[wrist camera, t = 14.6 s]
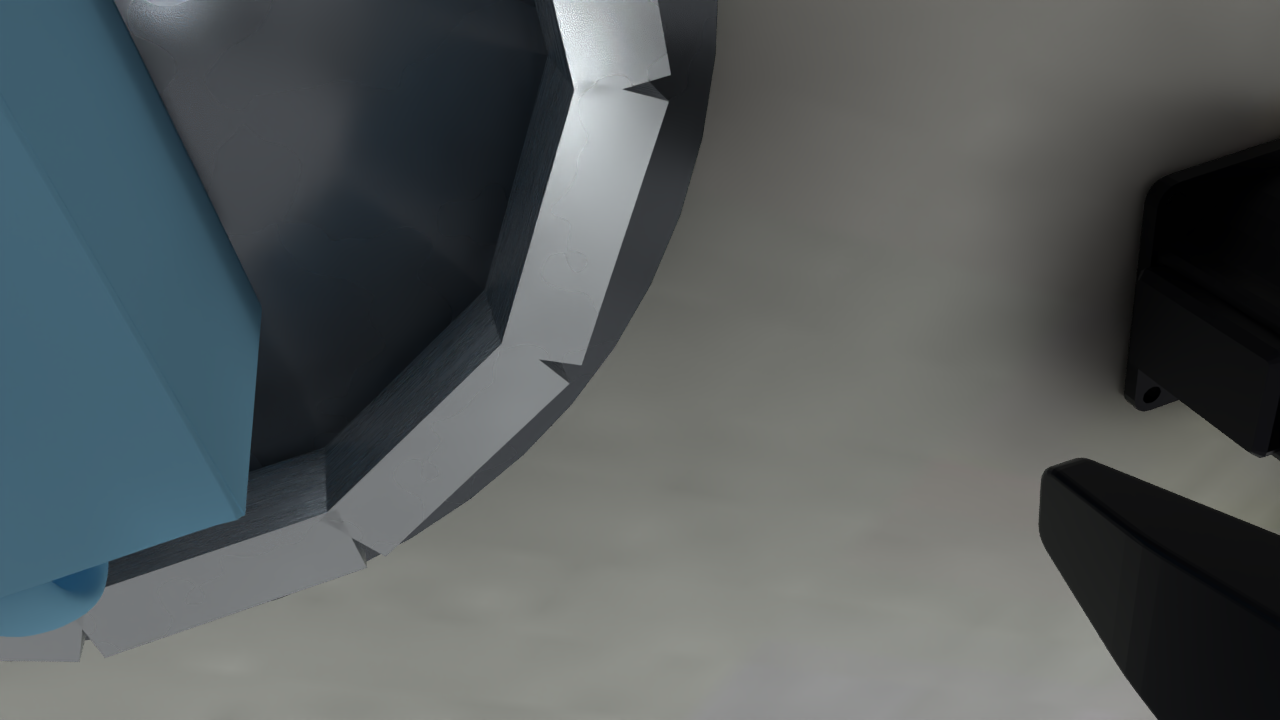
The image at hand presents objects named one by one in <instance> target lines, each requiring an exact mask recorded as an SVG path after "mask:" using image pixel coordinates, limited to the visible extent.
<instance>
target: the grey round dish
mask: <svg viewBox="0 0 1280 720" xmlns="http://www.w3.org/2000/svg"><path fill="white" fill-rule="evenodd" d="M114 2H115V4H116V6H117V8H118V10H119V12H120V14H121V16H122V18H123V20H124V22H125V25H126V27H127V29H128V31H129V33H130V35H131V37H132V39H133V41H134V43H135V45H136V47H137V49H138V51H139V53H140V55H141V57H142V59H143V62H144V64H145V66H146V68H147V70H148V72H149V74H150V76H151V78H152V80H153V82H154V84H155V86H156V88H157V90H158V92H159V95H160V97H161V99H162V101H163V103H164V105H165V107H166V109H167V111H168V113H169V115H170V117H171V119H172V121H173V123H174V126H175V128H176V130H177V132H178V134H179V136H180V138H181V140H182V142H183V144H184V146H185V148H186V150H187V152H188V155H189V157H190V159H191V161H192V163H193V165H194V167H195V169H196V171H197V173H198V175H199V177H200V179H201V181H202V184H203V186H204V188H205V190H206V192H207V194H208V196H209V198H210V200H211V202H212V204H213V206H214V208H215V210H216V213H217V215H218V217H219V219H220V221H221V223H222V225H223V227H224V229H225V231H226V233H227V235H228V237H229V239H230V242H231V244H232V246H233V248H234V250H235V252H236V254H237V256H238V258H239V260H240V262H241V264H242V267H243V269H244V271H245V273H246V275H247V277H248V279H249V281H250V283H251V285H252V287H253V289H254V292H255V294H256V296H257V298H258V300H259V302H260V304H261V307H262V314H261V326H260V338H259V351H258V363H257V375H256V388H255V400H254V412H253V425H252V437H251V449H250V462H249V474H248V486H247V499H246V511H245V516H242V517H240V518H239V519H238V520H235V521H231V522H227V523H223V524H219V525H216V526H212V527H209V528H206V529H203V530H200V531H197V532H194V533H191V534H188V535H185V536H182V537H179V538H176V539H173V540H170V541H167V542H164V543H161V544H158V545H156V546H153V547H150V548H147V549H144V550H141V551H138V552H135V553H132V554H129V555H126V556H123V557H120V558H118V559H115V560H112V561H109V562H108V576H107V581H106V585H105V589H104V592H103V594H102V596H101V597H100V599H99V601H98V602H97V603H96V605H95V606H94V607H93V608H92V609H90V610H89V611H88V612H87V613H86V614H85V615H83V616H81V617H80V618H78V619H76V620H75V621H73V622H71V623H69V624H67V625H65V626H63V627H60V628H58V629H55V630H52V631H48V632H45V633H41V634H37V635H32V636H26V637H4V636H0V661H58V662H79V661H80V657H81V653H82V649H83V645H84V641H85V640H91V641H92V642H93V643H94V645H95V646H96V647H97V648H98V650H99V651H100V652H101V654H102V655H103V656H104V657H105V658H106V657H109V656H112V655H114V654H117V653H120V652H123V651H126V650H129V649H132V648H135V647H138V646H141V645H144V644H146V643H149V642H152V641H155V640H158V639H161V638H164V637H167V636H170V635H173V634H175V633H178V632H181V631H184V630H187V629H190V628H193V627H196V626H199V625H202V624H205V623H207V622H210V621H213V620H216V619H219V618H222V617H225V616H228V615H231V614H234V613H237V612H239V611H242V610H245V609H248V608H251V607H254V606H257V605H260V604H263V603H266V602H269V601H272V600H276V599H279V598H282V597H284V596H287V595H289V594H292V593H295V592H298V591H300V590H303V589H306V588H309V587H312V586H315V585H318V584H321V583H324V582H327V581H329V580H332V579H335V578H338V577H341V576H344V575H347V574H350V573H353V572H356V571H359V570H361V569H364V568H367V565H366V561H368V560H370V559H372V558H374V557H376V556H378V555H380V554H382V555H384V556H387V555H388V554H389V553H390V552H391V551H392V550H393V549H394V548H395V547H396V546H397V545H399V544H401V543H403V542H405V541H407V540H408V539H410V538H412V537H414V536H415V535H417V534H418V533H420V532H421V531H423V530H424V529H426V528H427V527H429V526H430V525H432V524H433V523H435V522H436V521H438V520H439V519H441V518H442V517H444V516H445V515H447V514H448V513H450V512H451V511H453V510H454V509H456V508H457V507H459V506H460V505H462V504H463V503H465V502H466V501H468V500H469V499H471V498H472V497H473V496H474V495H476V494H477V493H478V492H479V491H480V490H482V489H483V488H484V487H485V486H486V485H488V484H489V483H490V482H491V481H492V480H494V479H495V478H496V477H497V476H498V475H500V474H501V473H502V472H503V471H504V470H506V469H507V468H508V467H509V466H510V465H512V464H513V463H514V462H515V461H516V460H518V459H519V458H520V457H521V456H522V455H524V454H525V453H526V451H527V450H528V449H529V448H530V447H531V446H532V445H533V444H534V443H535V442H536V441H537V440H538V439H539V438H540V437H541V436H542V435H543V434H544V433H545V432H546V431H547V429H548V428H549V427H550V426H551V425H552V424H553V423H554V422H555V421H556V420H557V419H558V418H559V417H560V416H561V415H562V414H563V413H564V412H565V411H566V410H567V409H568V407H569V406H570V405H571V404H572V403H573V402H574V400H575V399H576V398H577V396H578V395H579V394H580V392H581V391H582V390H583V388H584V387H585V386H586V384H587V383H588V382H589V380H590V379H591V378H592V376H593V375H594V374H595V372H596V371H597V370H598V369H599V367H600V366H601V365H602V363H603V362H604V361H605V359H606V358H607V357H608V355H609V354H610V353H611V351H612V350H613V349H614V347H615V345H616V344H617V342H618V340H619V339H620V337H621V335H622V333H623V332H624V330H625V328H626V326H627V325H628V323H629V321H630V319H631V318H632V316H633V314H634V313H635V311H636V309H637V307H638V306H639V304H640V302H641V300H642V299H643V297H644V295H645V293H646V292H647V290H648V288H649V287H650V285H651V283H652V280H653V278H654V276H655V273H656V271H657V268H658V266H659V264H660V261H661V259H662V257H663V254H664V252H665V250H666V247H667V245H668V243H669V240H670V238H671V236H672V233H673V231H674V228H675V226H676V224H677V221H678V219H679V217H680V214H681V211H682V207H683V204H684V200H685V197H686V193H687V190H688V186H689V183H690V179H691V176H692V172H693V169H694V165H695V162H696V158H697V155H698V151H699V148H700V144H701V141H702V137H703V130H704V124H705V118H706V111H707V105H708V99H709V92H710V86H711V80H712V73H713V67H714V61H715V54H716V29H717V2H718V0H114Z"/></svg>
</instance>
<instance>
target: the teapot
mask: <svg viewBox="0 0 1280 720" xmlns="http://www.w3.org/2000/svg"><path fill="white" fill-rule="evenodd" d="M261 314H262V307H261V304H260V302H259V300H258V298H257V296H256V294H255V292H254V289H253V287H252V285H251V283H250V281H249V279H248V277H247V275H246V273H245V271H244V269H243V267H242V264H241V262H240V260H239V258H238V256H237V254H236V252H235V250H234V248H233V246H232V244H231V242H230V239H229V237H228V235H227V233H226V231H225V229H224V227H223V225H222V223H221V221H220V219H219V217H218V215H217V213H216V210H215V208H214V206H213V204H212V202H211V200H210V198H209V196H208V194H207V192H206V190H205V188H204V186H203V184H202V181H201V179H200V177H199V175H198V173H197V171H196V169H195V167H194V165H193V163H192V161H191V159H190V157H189V155H188V152H187V150H186V148H185V146H184V144H183V142H182V140H181V138H180V136H179V134H178V132H177V130H176V128H175V126H174V123H173V121H172V119H171V117H170V115H169V113H168V111H167V109H166V107H165V105H164V103H163V101H162V99H161V97H160V95H159V92H158V90H157V88H156V86H155V84H154V82H153V80H152V78H151V76H150V74H149V72H148V70H147V68H146V66H145V64H144V62H143V59H142V57H141V55H140V53H139V51H138V49H137V47H136V45H135V43H134V41H133V39H132V37H131V35H130V33H129V31H128V29H127V27H126V25H125V22H124V20H123V18H122V16H121V14H120V12H119V10H118V8H117V6H116V4H115V2H114V0H0V636H4V637H26V636H32V635H37V634H41V633H45V632H48V631H52V630H55V629H58V628H60V627H63V626H65V625H67V624H69V623H71V622H73V621H75V620H76V619H78V618H80V617H81V616H83V615H85V614H86V613H87V612H88V611H89V610H90V609H92V608H93V607H94V606H95V605H96V603H97V602H98V601H99V599H100V597H101V596H102V594H103V592H104V589H105V585H106V581H107V576H108V562H109V561H112V560H115V559H118V558H120V557H123V556H126V555H129V554H132V553H135V552H138V551H141V550H144V549H147V548H150V547H153V546H156V545H158V544H161V543H164V542H167V541H170V540H173V539H176V538H179V537H182V536H185V535H188V534H191V533H194V532H197V531H200V530H203V529H206V528H209V527H212V526H216V525H219V524H223V523H227V522H231V521H235V520H238V519H239V518H240V517H242V516H245V511H246V499H247V486H248V474H249V462H250V449H251V437H252V425H253V412H254V400H255V388H256V375H257V363H258V351H259V338H260V326H261Z"/></svg>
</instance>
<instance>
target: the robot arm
mask: <svg viewBox="0 0 1280 720" xmlns="http://www.w3.org/2000/svg"><path fill="white" fill-rule="evenodd" d="M1172 195H1173V197H1172ZM1171 197H1172V199H1171V200H1170V201H1169V202H1168V200H1169V199H1170V198H1171ZM1124 396H1125V399H1126V400H1127V401H1128V402H1129V403H1130V404H1131V405H1133V406H1134V407H1135V408H1136V409H1138V410H1140V411H1148V410H1152V409H1155V408H1157V407H1160V406H1163V405H1166V404H1169V403H1171V402H1174V401H1177V400H1180V401H1181V402H1183V403H1184V404H1185V405H1187V406H1188V407H1189V408H1191V409H1192V410H1193V411H1195V412H1196V413H1197V414H1199V415H1200V416H1201V417H1203V418H1204V419H1205V420H1207V421H1208V422H1209V423H1210V424H1212V425H1213V426H1214V427H1216V428H1217V429H1218V430H1220V431H1221V432H1222V433H1224V434H1225V435H1226V436H1228V437H1229V438H1230V439H1232V440H1233V441H1234V442H1236V443H1237V444H1238V445H1240V446H1241V447H1242V448H1244V449H1245V450H1246V451H1248V452H1249V453H1251V454H1253V455H1255V456H1257V457H1259V458H1261V457H1266V456H1268V455H1273V456H1274V457H1275V458H1277V459H1278V460H1279V461H1280V139H1277V140H1274V141H1271V142H1268V143H1265V144H1262V145H1259V146H1256V147H1253V148H1250V149H1247V150H1244V151H1241V152H1238V153H1235V154H1232V155H1229V156H1226V157H1222V158H1219V159H1216V160H1213V161H1210V162H1207V163H1204V164H1201V165H1198V166H1195V167H1192V168H1189V169H1186V170H1183V171H1180V172H1177V173H1174V174H1171V175H1168V176H1165V177H1163V178H1161V179H1159V180H1158V181H1157V182H1156V183H1155V184H1154V185H1153V186H1152V187H1151V189H1150V190H1149V192H1148V193H1147V196H1146V200H1145V205H1144V214H1143V223H1142V232H1141V241H1140V251H1139V260H1138V269H1137V278H1136V287H1135V297H1134V306H1133V315H1132V324H1131V333H1130V343H1129V352H1128V361H1127V370H1126V379H1125V389H1124ZM1039 533H1040V537H1041V540H1042V543H1043V545H1044V547H1045V549H1046V551H1047V552H1048V554H1049V556H1050V557H1051V559H1052V560H1053V562H1054V564H1055V565H1056V567H1057V569H1058V570H1059V572H1060V573H1061V575H1062V577H1063V578H1064V580H1065V582H1066V583H1067V585H1068V586H1069V588H1070V590H1071V591H1072V593H1073V594H1074V596H1075V598H1076V599H1077V601H1078V603H1079V604H1080V606H1081V607H1082V609H1083V611H1084V612H1085V614H1086V616H1087V617H1088V619H1089V620H1090V622H1091V624H1092V625H1093V627H1094V628H1095V630H1096V632H1097V633H1098V635H1099V637H1100V638H1101V640H1102V641H1103V643H1104V645H1105V646H1106V648H1107V650H1108V651H1109V653H1110V654H1111V656H1112V657H1113V659H1114V660H1115V662H1116V664H1117V665H1118V667H1119V668H1120V670H1121V671H1122V673H1123V674H1124V676H1125V677H1126V678H1127V680H1128V681H1129V682H1130V684H1131V685H1132V687H1133V688H1134V689H1135V691H1136V692H1137V693H1138V695H1139V696H1140V697H1141V699H1142V700H1143V701H1144V703H1145V704H1146V705H1147V706H1148V708H1149V709H1150V710H1151V712H1152V713H1153V714H1154V715H1155V717H1156V718H1157V719H1158V720H1280V535H1277V534H1275V533H1272V532H1270V531H1267V530H1265V529H1263V528H1260V527H1258V526H1255V525H1253V524H1250V523H1248V522H1245V521H1243V520H1240V519H1238V518H1235V517H1233V516H1230V515H1228V514H1225V513H1223V512H1220V511H1218V510H1215V509H1213V508H1210V507H1208V506H1205V505H1203V504H1200V503H1198V502H1195V501H1193V500H1190V499H1188V498H1185V497H1183V496H1180V495H1178V494H1175V493H1173V492H1170V491H1168V490H1165V489H1163V488H1160V487H1158V486H1155V485H1153V484H1150V483H1148V482H1145V481H1143V480H1140V479H1138V478H1135V477H1133V476H1130V475H1128V474H1125V473H1123V472H1120V471H1118V470H1115V469H1113V468H1110V467H1108V466H1105V465H1103V464H1100V463H1098V462H1096V461H1093V460H1090V459H1086V458H1076V459H1072V460H1069V461H1066V462H1063V463H1060V464H1057V465H1054V466H1051V467H1049V468H1047V469H1046V470H1045V471H1044V473H1043V475H1042V477H1041V488H1040V506H1039Z"/></svg>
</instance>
